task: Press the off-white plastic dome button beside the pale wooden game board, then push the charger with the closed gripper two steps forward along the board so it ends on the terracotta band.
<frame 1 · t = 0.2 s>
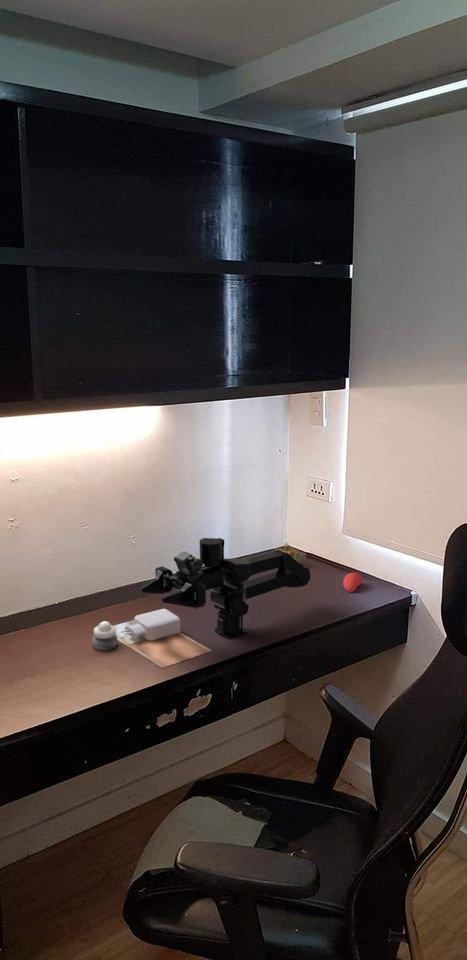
hand: (151, 595, 186), 17 cm above the table, fingers open, 9 cm apart
stress ball: (352, 589, 239), on the table
figurine: (286, 566, 259), on the table
dome: (104, 627, 195), point 5 cm above the table, slide at 0.0 cm
game board: (155, 640, 200), on the table
charger: (147, 635, 202), on the table, touching game board
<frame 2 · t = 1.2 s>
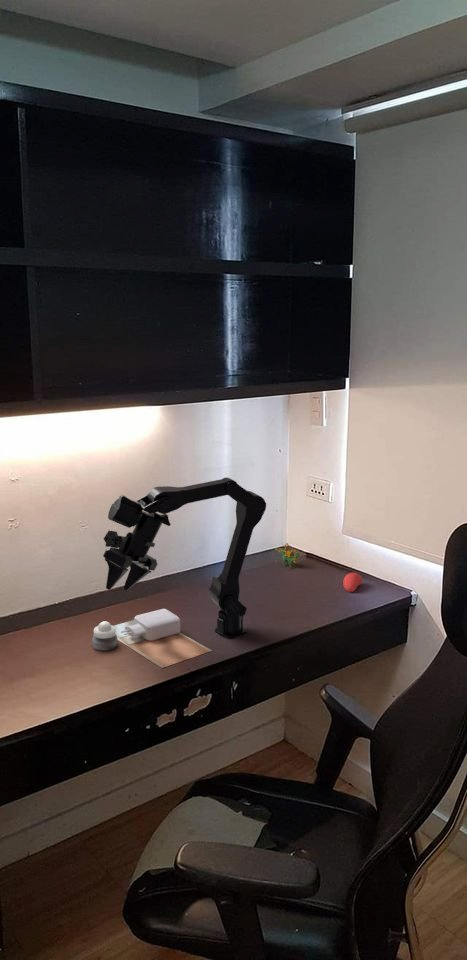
hand: (116, 589, 189), 17 cm above the table, fingers open, 9 cm apart
nothing on the table moved.
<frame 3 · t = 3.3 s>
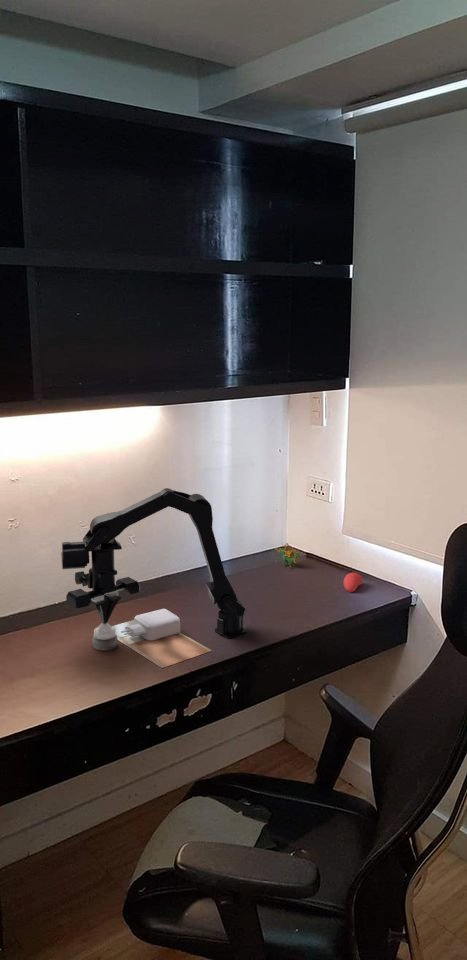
hand: (104, 622, 195), 6 cm above the table, fingers closed, pressing on dome
dome: (104, 629, 195), point 5 cm above the table, slide at 0.3 cm, touching gripper
everything else where it was.
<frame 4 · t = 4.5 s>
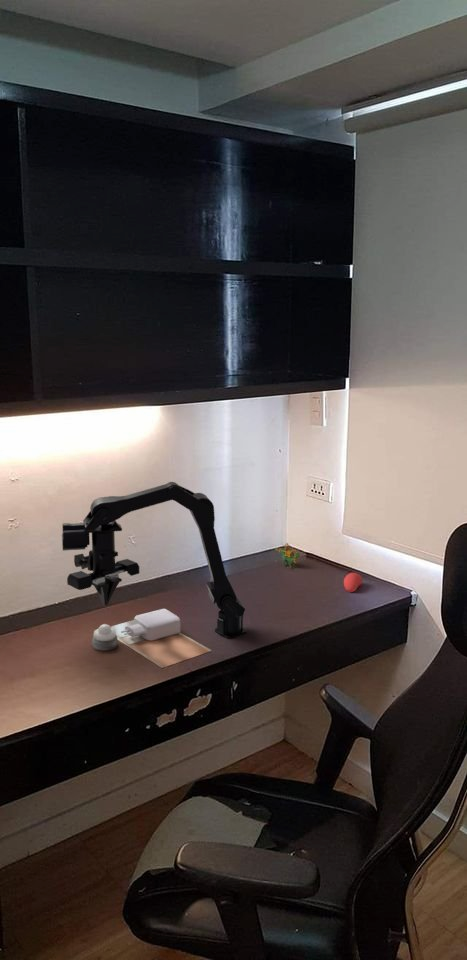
hand: (105, 605, 194), 11 cm above the table, fingers closed
dome: (104, 630, 195), point 4 cm above the table, slide at 0.8 cm
everything else where it was.
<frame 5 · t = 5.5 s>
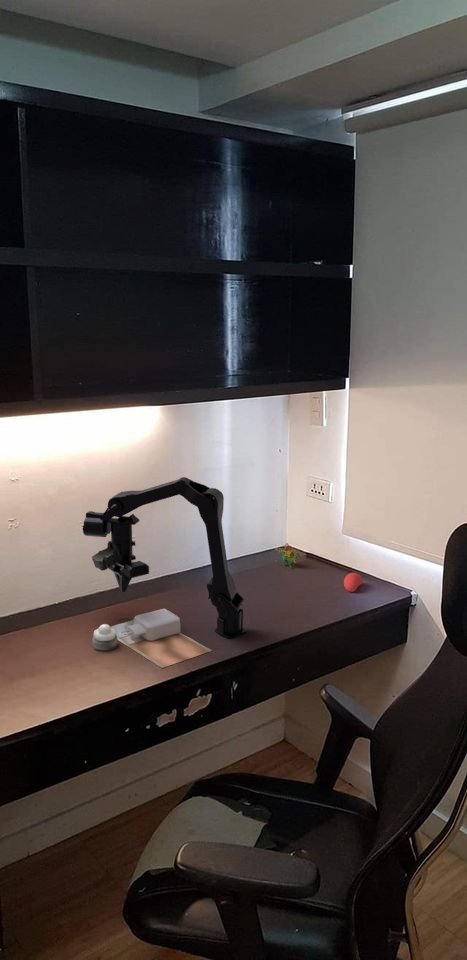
hand: (123, 591, 210), 9 cm above the table, fingers closed
nothing on the table moved.
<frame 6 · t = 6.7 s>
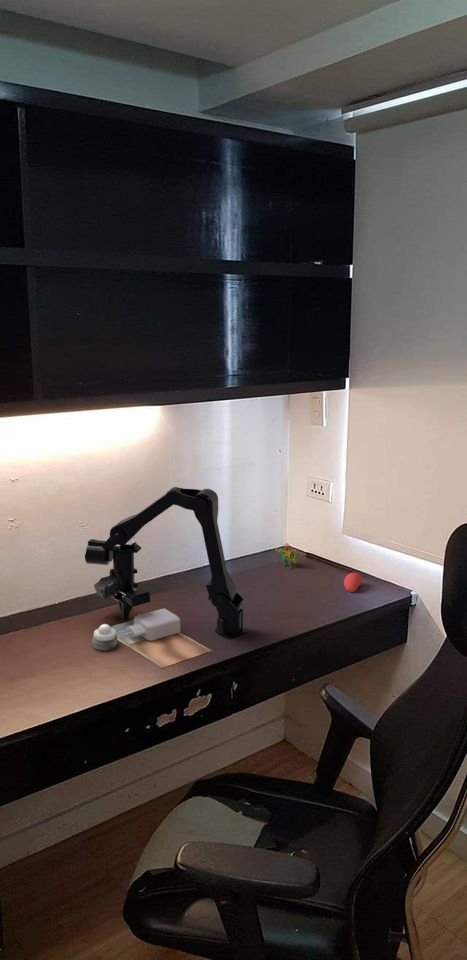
hand: (125, 618, 211), 1 cm above the table, fingers closed
nothing on the table moved.
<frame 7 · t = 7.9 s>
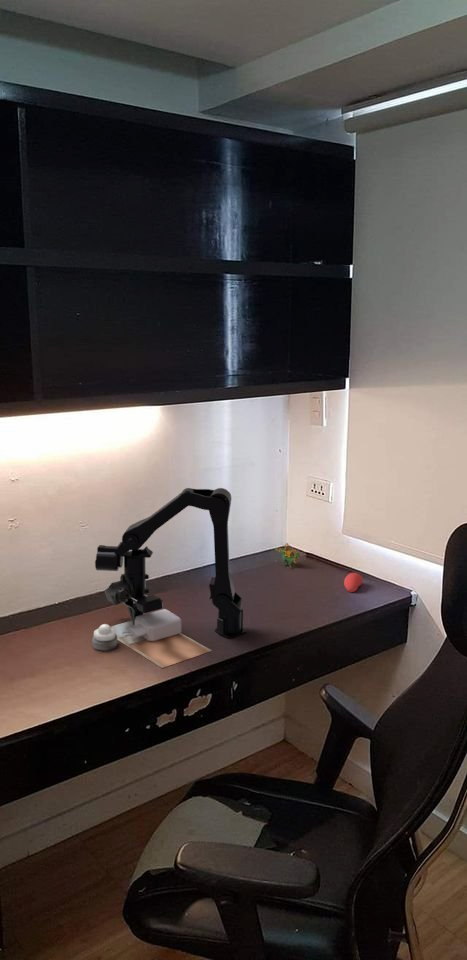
hand: (135, 624, 207), 1 cm above the table, fingers closed
charger: (148, 636, 202), touching gripper
everything else where it was.
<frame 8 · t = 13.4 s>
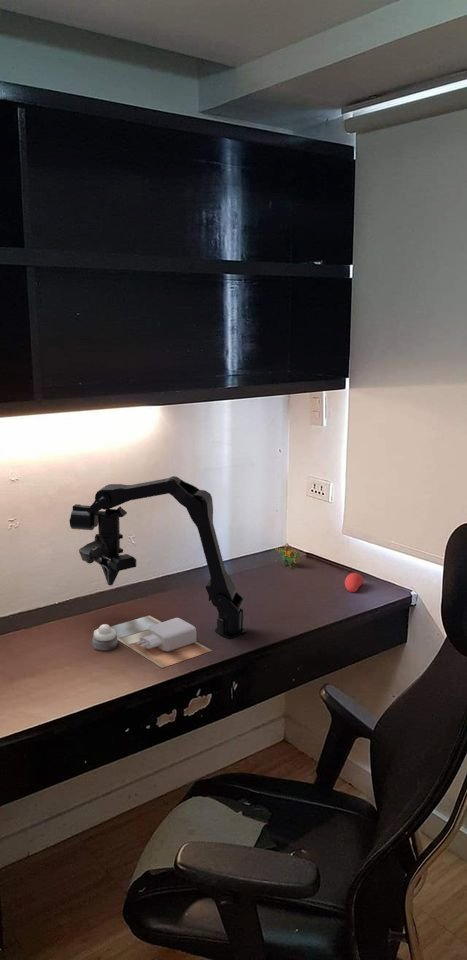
hand: (110, 584, 208), 11 cm above the table, fingers closed
charger: (163, 646, 196), on the table, touching game board
everything else where it was.
at the end: dome slide at 0.8 cm; charger inside the target area (2.4 cm from its centre), on the table; charger moved 7.9 cm from its start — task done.
